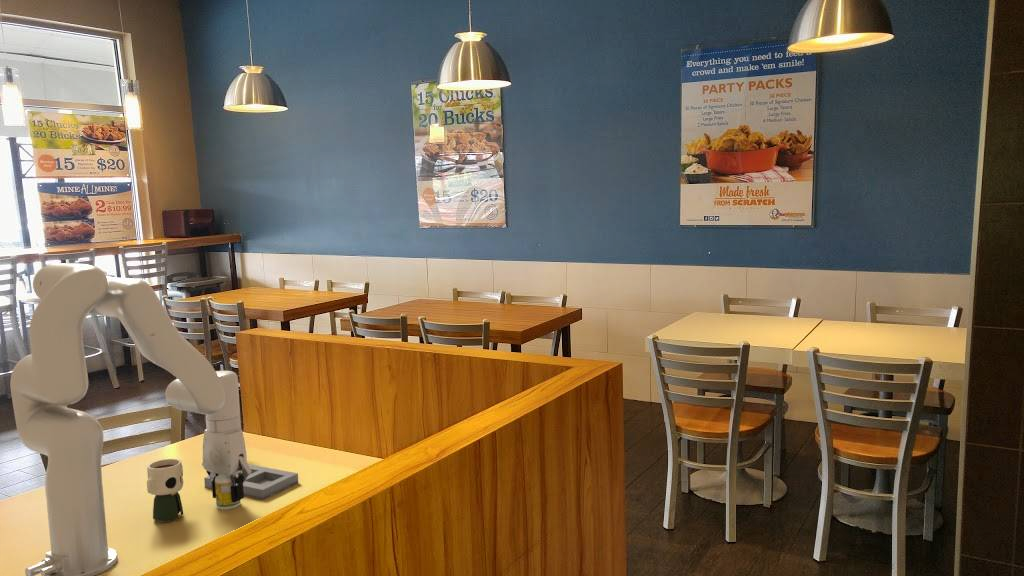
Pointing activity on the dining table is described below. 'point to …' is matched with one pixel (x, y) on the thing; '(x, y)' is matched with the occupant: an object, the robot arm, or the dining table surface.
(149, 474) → the character mug
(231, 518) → the dining table surface
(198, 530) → the dining table surface
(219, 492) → the supplement bottle
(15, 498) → the dining table surface
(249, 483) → the drink carrier
